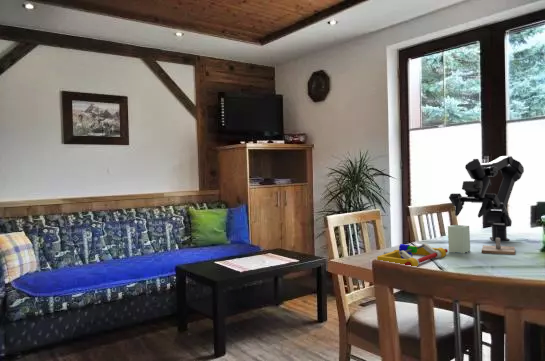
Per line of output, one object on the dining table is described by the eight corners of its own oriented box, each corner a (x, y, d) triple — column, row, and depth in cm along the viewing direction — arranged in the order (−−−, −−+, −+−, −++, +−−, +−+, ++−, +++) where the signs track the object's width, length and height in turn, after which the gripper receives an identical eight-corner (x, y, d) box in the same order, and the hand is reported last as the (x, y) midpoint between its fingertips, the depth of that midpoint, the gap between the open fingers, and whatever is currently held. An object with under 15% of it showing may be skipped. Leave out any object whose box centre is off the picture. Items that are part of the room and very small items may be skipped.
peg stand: (483, 247, 169) (482, 235, 169) (514, 249, 164) (514, 236, 164) (481, 253, 159) (481, 239, 159) (515, 254, 154) (514, 240, 154)
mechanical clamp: (450, 239, 159) (411, 252, 138) (450, 256, 159) (412, 271, 139) (405, 236, 172) (364, 247, 152) (406, 251, 173) (364, 264, 152)
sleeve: (455, 249, 168) (454, 224, 168) (470, 251, 163) (469, 225, 163) (448, 251, 165) (447, 226, 165) (463, 253, 160) (462, 227, 160)
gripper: (450, 174, 178) (437, 202, 172) (495, 173, 164) (483, 203, 157) (460, 191, 183) (448, 219, 177) (505, 192, 169) (493, 222, 162)
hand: (467, 216), depth 168 cm, fingers open, 9 cm apart
